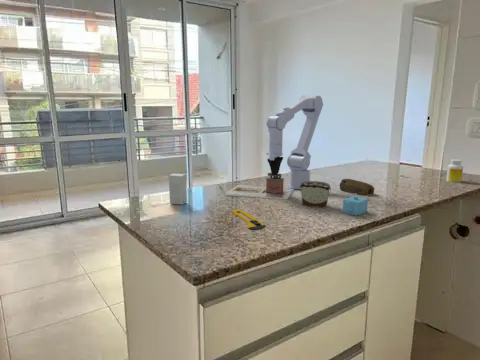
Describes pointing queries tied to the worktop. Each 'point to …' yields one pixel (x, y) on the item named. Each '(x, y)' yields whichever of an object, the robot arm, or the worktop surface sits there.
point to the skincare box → (177, 188)
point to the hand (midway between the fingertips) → (275, 173)
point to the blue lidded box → (355, 205)
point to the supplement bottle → (454, 171)
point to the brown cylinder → (356, 187)
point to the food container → (315, 193)
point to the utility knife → (249, 220)
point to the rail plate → (257, 194)
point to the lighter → (274, 184)
